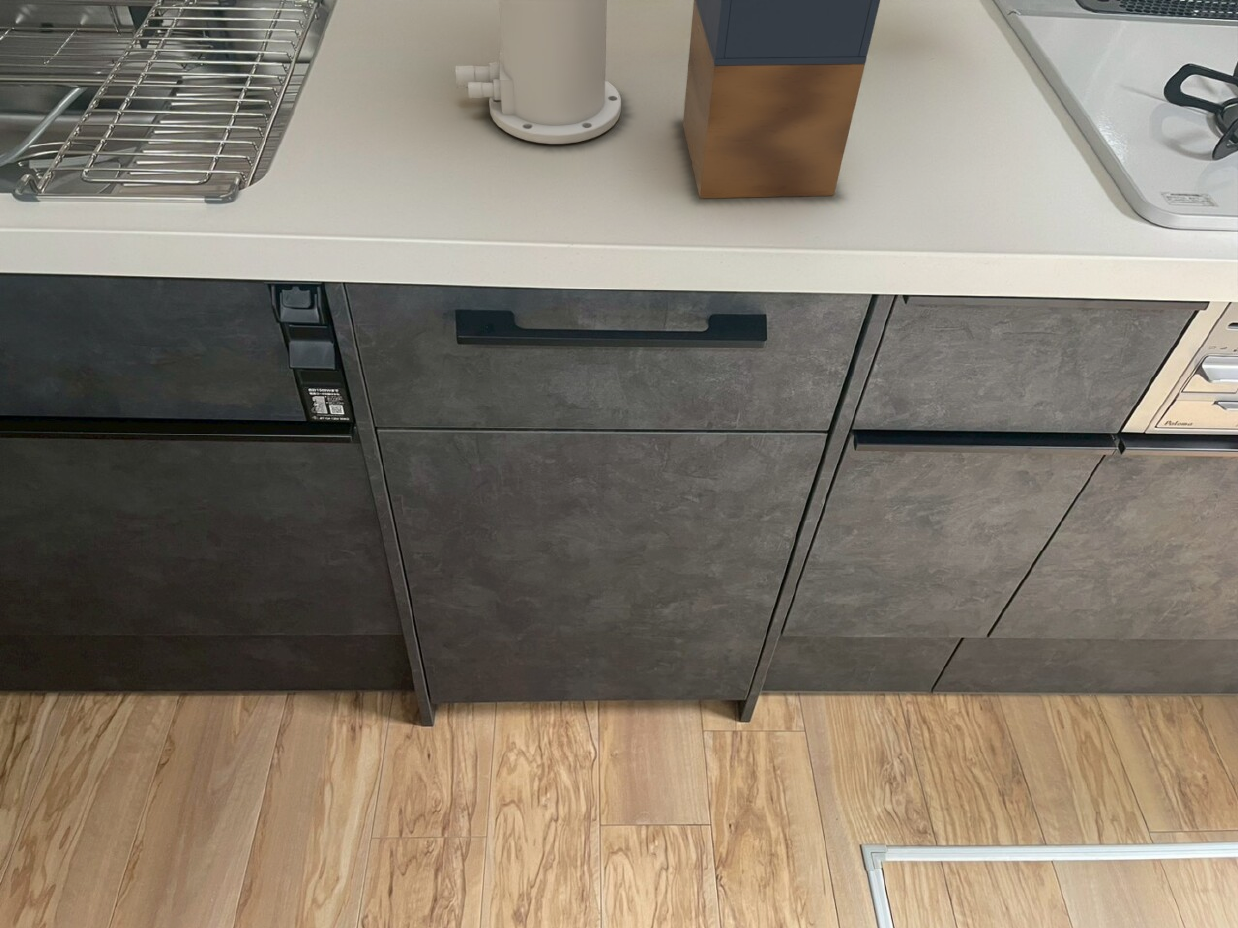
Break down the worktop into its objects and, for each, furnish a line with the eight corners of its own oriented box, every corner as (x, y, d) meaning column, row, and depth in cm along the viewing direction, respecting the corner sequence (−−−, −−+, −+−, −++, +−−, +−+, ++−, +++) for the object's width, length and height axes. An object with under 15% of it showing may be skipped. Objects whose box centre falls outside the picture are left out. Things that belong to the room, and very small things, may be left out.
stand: (699, 198, 82) (714, 66, 73) (682, 125, 90) (694, -3, 80) (834, 195, 83) (865, 64, 74) (805, 123, 91) (831, -4, 81)
